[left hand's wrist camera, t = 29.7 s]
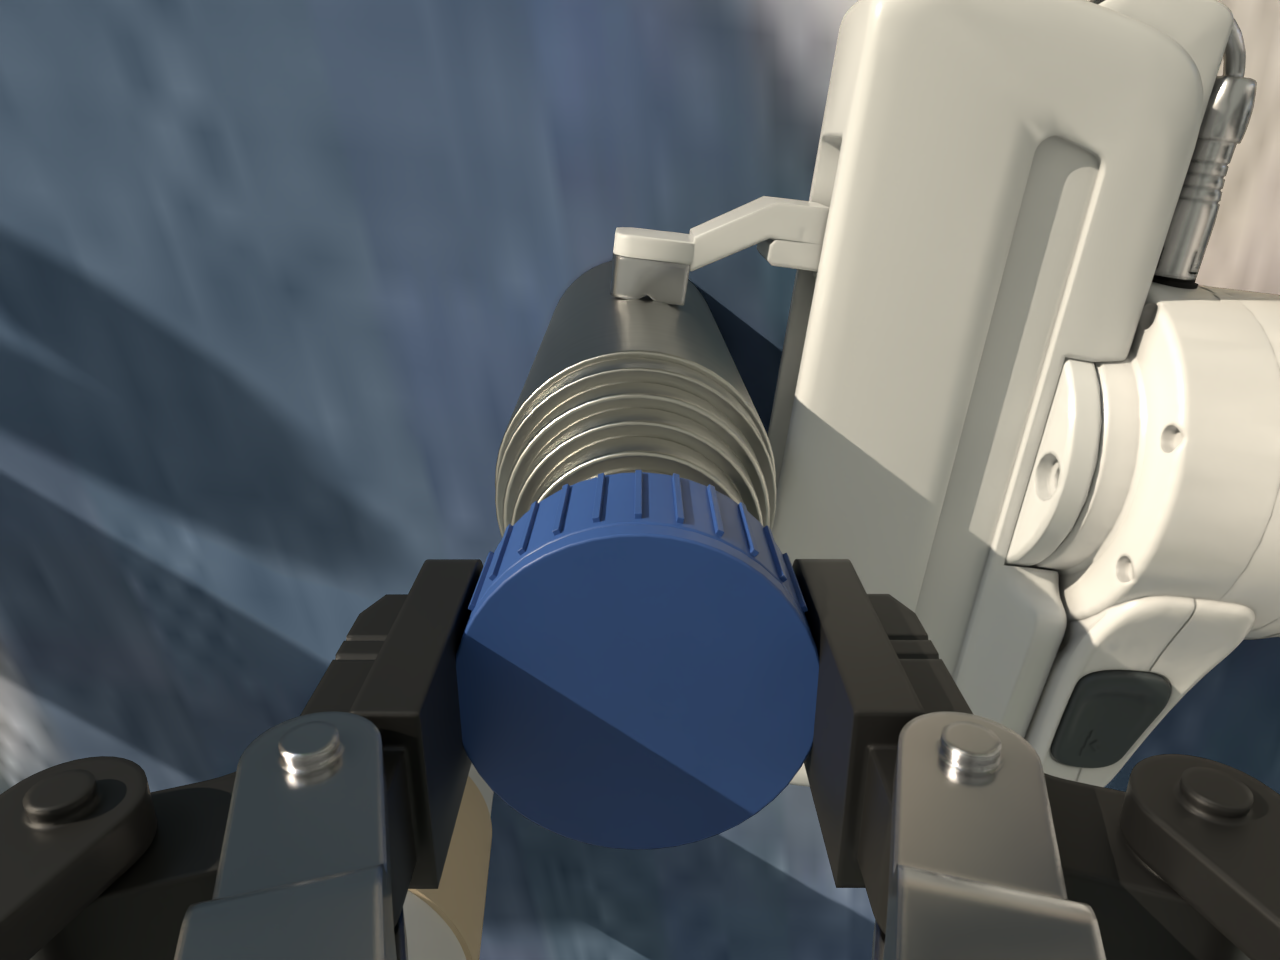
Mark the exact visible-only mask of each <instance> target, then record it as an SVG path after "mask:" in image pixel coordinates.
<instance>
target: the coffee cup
mask: <svg viewBox="0 0 1280 960" xmlns="http://www.w3.org/2000/svg"><path fill="white" fill-rule="evenodd" d="M493 792H494V791H492V789H491V788H490V787H489V786H488V785H487V783H486V782H485V781H484V780H483V779H482V777H481V776H480V775H479V774H478V772H477V770H476V769H475V767H474V765H473V764H472V763H471V767H470V771H469V775H468V778H467V782H466V786H465V790H464V793H463V797H462V801H461V805H460V808H459V812H458V816H457V819H456V823H455V827H454V831H453V834H452V838H451V842H450V846H449V849H448V853H447V857H446V861H445V864H444V868H443V872H442V876H441V879H440V883H439V887H438V889H408V892H407V895H406V898H405V901H404V905H403V911H404V919H405V927H406V934H407V946H408V960H479V955H480V946H481V936H482V927H483V917H484V908H485V898H486V889H487V879H488V870H489V860H490V851H491V841H492V824H491V818H490V817H491V809H492V800H493Z"/></svg>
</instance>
